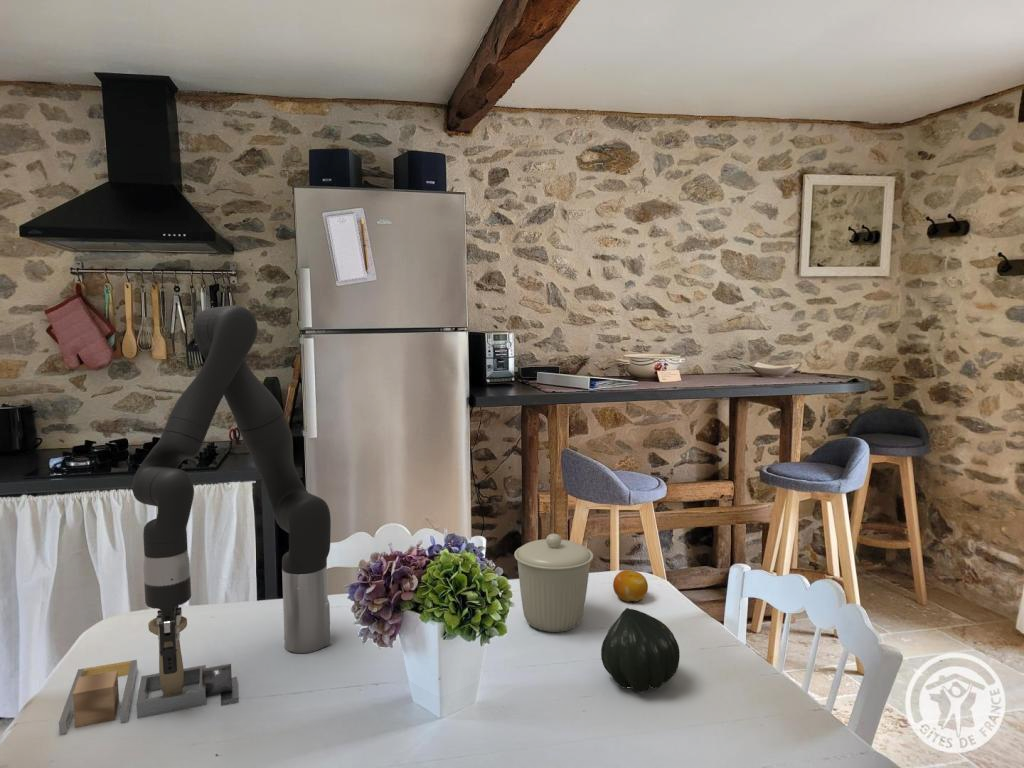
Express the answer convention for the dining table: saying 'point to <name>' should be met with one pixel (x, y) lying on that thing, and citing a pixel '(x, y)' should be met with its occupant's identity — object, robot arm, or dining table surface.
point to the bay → (121, 668)
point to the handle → (175, 680)
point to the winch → (209, 684)
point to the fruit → (630, 585)
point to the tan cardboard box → (96, 698)
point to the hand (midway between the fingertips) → (171, 661)
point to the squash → (640, 651)
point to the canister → (553, 582)
